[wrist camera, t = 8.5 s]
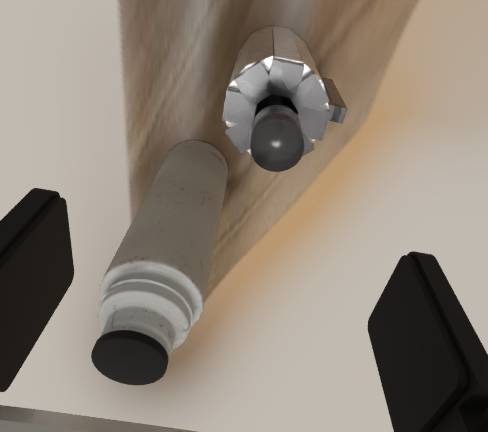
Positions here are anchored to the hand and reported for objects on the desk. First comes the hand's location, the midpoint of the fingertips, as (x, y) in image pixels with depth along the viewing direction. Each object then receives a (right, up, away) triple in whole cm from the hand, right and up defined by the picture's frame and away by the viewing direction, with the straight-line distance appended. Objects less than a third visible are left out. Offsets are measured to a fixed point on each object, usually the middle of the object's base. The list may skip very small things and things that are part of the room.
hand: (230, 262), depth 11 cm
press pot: (+4, +17, +30) cm, 35 cm away
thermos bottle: (-5, +7, +37) cm, 39 cm away
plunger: (+3, +15, +27) cm, 31 cm away
